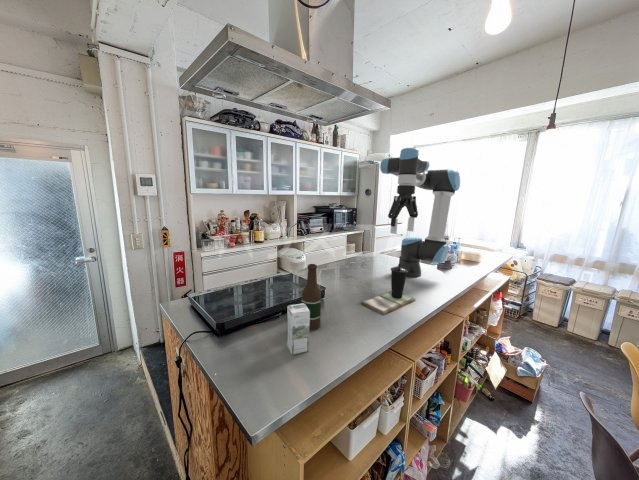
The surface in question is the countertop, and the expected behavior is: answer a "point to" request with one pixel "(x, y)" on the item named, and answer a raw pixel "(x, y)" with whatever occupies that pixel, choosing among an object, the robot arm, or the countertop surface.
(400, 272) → the drinking cup
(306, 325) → the syrup box
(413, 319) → the countertop surface
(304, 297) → the beer bottle
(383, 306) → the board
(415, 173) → the robot arm
